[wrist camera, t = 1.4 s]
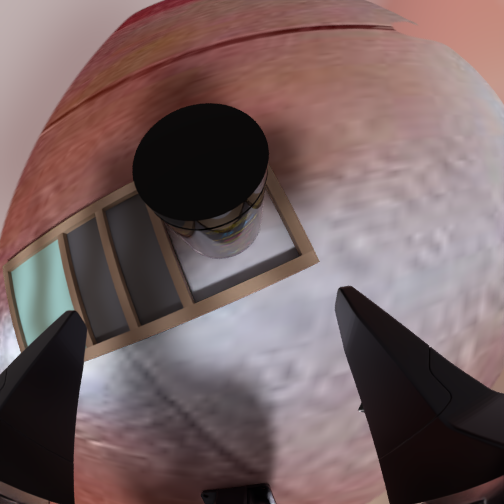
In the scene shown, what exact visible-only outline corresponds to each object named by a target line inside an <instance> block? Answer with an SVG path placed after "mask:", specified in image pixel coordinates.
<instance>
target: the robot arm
mask: <svg viewBox="0 0 504 504" xmlns="http://www.w3.org/2000/svg"><path fill="white" fill-rule="evenodd" d="M335 313H336V317H337V321H338V325H339V329H340V334H341V338H342V342H343V347H344V351H345V354H346V357H347V360H348V363H349V366H350V369H351V372H352V375H353V378H354V381H355V384H356V387H357V390H358V393H359V396H360V399H361V402H362V405H363V408H364V411H365V415H366V418H367V421H368V424H369V428H370V431H371V434H372V438H373V441H374V445H375V448H376V452H377V455H378V459H379V463H380V467H381V471H382V474H383V478H384V482H385V486H386V490H387V495H388V499H389V503H390V504H416V503H421V502H424V503H422V504H504V394H503V393H499V392H496V391H493V390H491V389H490V388H488V387H486V386H485V385H483V384H482V383H480V382H479V381H477V380H476V379H474V378H473V377H471V376H470V375H468V374H467V373H465V372H464V371H462V370H461V369H459V368H458V367H457V366H455V365H454V364H452V363H451V362H449V361H448V360H447V359H446V358H444V357H443V356H442V355H440V354H439V353H438V352H437V351H435V350H434V349H433V348H432V347H429V345H428V344H426V343H425V342H424V341H423V340H421V339H420V338H419V337H418V336H416V335H415V334H414V333H412V332H411V331H410V330H409V329H407V328H406V327H405V326H404V325H402V324H401V323H400V322H398V321H397V320H396V319H394V318H393V317H392V316H391V315H389V314H388V313H387V312H385V311H384V310H383V309H381V308H380V307H379V306H377V305H376V304H375V303H374V302H372V301H371V300H370V299H368V298H367V297H366V296H364V295H363V294H362V293H360V292H359V291H358V290H356V289H355V288H353V287H352V286H345V287H340V288H339V289H338V291H337V297H336V303H335ZM86 338H87V326H86V324H85V323H84V321H83V320H82V318H81V317H80V315H79V313H78V312H77V311H75V310H68V311H65V312H64V313H63V314H62V315H61V316H60V317H59V318H58V319H56V320H55V321H54V322H53V323H52V324H51V325H50V326H49V327H48V328H47V329H46V330H45V331H43V332H42V333H41V334H40V335H39V336H38V337H37V338H36V339H35V340H34V341H33V342H32V343H31V344H30V345H29V346H28V347H27V348H26V349H25V350H24V351H23V352H22V353H21V354H20V355H19V356H18V357H17V358H16V359H15V360H14V361H13V362H12V363H11V364H10V365H9V366H8V368H6V369H5V370H4V371H3V372H2V373H1V374H0V504H50V501H51V502H55V503H58V504H75V501H74V463H73V462H74V439H75V425H76V415H77V406H78V398H79V391H80V385H81V378H82V372H83V365H84V355H85V346H86ZM263 487H265V489H263ZM205 494H207V495H205ZM201 497H202V499H203V501H204V503H205V504H276V503H275V500H274V497H273V495H272V492H271V489H270V487H269V485H268V484H266V483H262V484H257V485H250V486H244V487H236V488H228V489H218V490H205V491H202V492H201Z"/></svg>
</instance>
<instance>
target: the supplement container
mask: <svg viewBox="0 0 504 504" xmlns="http://www.w3.org/2000/svg"><path fill="white" fill-rule="evenodd" d="M268 161H269V149H268V143H267V140H266V137H265V135H264V133H263V131H262V129H261V128H260V126H259V125H258V124H257V123H256V122H255V121H254V120H253V119H252V118H251V117H250V116H249V115H247V114H246V113H244V112H242V111H240V110H238V109H236V108H233V107H231V106H227V105H222V104H213V103H205V104H196V105H191V106H187V107H184V108H181V109H179V110H176V111H174V112H172V113H170V114H168V115H167V116H165V117H164V118H162V119H161V120H159V121H158V122H157V123H156V124H155V125H154V126H153V127H152V128H151V129H150V130H149V131H148V132H147V133H146V134H145V136H144V137H143V139H142V140H141V142H140V144H139V146H138V148H137V150H136V153H135V156H134V161H133V180H134V184H135V187H136V190H137V192H138V194H139V196H140V197H141V199H142V200H143V201H144V202H145V203H146V204H147V206H148V207H149V208H150V209H151V210H152V211H153V212H154V213H155V214H156V215H157V216H158V217H159V218H160V219H161V220H162V221H164V222H165V223H166V224H168V225H169V226H170V227H171V228H172V229H173V230H174V231H175V232H176V233H177V234H178V235H179V236H180V237H181V238H182V239H183V240H184V241H185V242H186V243H187V244H188V245H189V246H190V247H191V248H192V249H193V250H195V251H196V252H198V253H199V254H201V255H203V256H206V257H210V258H217V259H221V258H229V257H232V256H235V255H237V254H239V253H241V252H243V251H244V250H246V249H247V248H248V247H249V246H250V245H251V244H252V243H253V242H254V240H255V239H256V237H257V235H258V233H259V231H260V227H261V222H262V213H263V203H264V193H265V185H266V182H267V176H268Z"/></svg>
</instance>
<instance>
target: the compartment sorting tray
mask: <svg viewBox="0 0 504 504" xmlns="http://www.w3.org/2000/svg"><path fill="white" fill-rule="evenodd" d="M265 188H266V190H267V192H268V193H269V195H270V197H271V199H272V201H273V203H274V205H275V207H276V209H277V211H278V213H279V215H280V217H281V219H282V221H283V223H284V225H285V227H286V229H287V231H288V233H289V235H290V237H291V239H292V241H293V243H294V245H295V247H296V249H297V251H298V253H299V256H300V257H298V258H295V259H293V260H291V261H289V262H287V263H285V264H282V265H280V266H278V267H276V268H274V269H271V270H269V271H267V272H265V273H263V274H260V275H258V276H256V277H254V278H252V279H249V280H247V281H245V282H243V283H240V284H238V285H236V286H234V287H231V288H229V289H227V290H225V291H222V292H220V293H218V294H216V295H213V296H211V297H209V298H206V299H204V300H202V301H199V302H197V303H195V301H194V299H193V296H192V294H191V292H190V289H189V287H188V284H187V282H186V279H185V277H184V274H183V272H182V269H181V267H180V264H179V262H178V259H177V256H176V254H175V251H174V249H173V246H172V243H171V241H170V238H169V235H168V232H167V230H166V227H165V224H164V221H162V220H161V219H160V218H159V217H158V216H157V215H156V214H155V213H154V212H153V211H152V210H151V209H150V208H149V207H148V206H147V204H146V203H145V202H144V201H143V200H142V199H141V197H140V196H139V194H138V192H137V190H136V187H135V184H134V181H133V182H131V183H129V184H127V185H125V186H123V187H122V188H120V189H118V190H116V191H114V192H112V193H111V194H109V195H107V196H105V197H104V198H102V199H100V200H98V201H97V202H95V203H93V204H92V205H90V206H88V207H87V208H85V209H83V210H82V211H80V212H78V213H77V214H75V215H74V216H72V217H70V218H69V219H67V220H66V221H64V222H63V223H61V224H60V225H58V226H57V227H55V228H54V229H52V230H51V231H49V232H48V233H46V234H45V235H43V236H42V237H41V238H39V239H38V240H36V241H35V242H34V243H32V244H31V245H29V246H28V247H27V248H25V249H24V250H23V251H21V252H20V253H19V254H18V255H16V256H15V257H14V258H12V259H11V260H10V261H9V262H7V263H6V264H5V265H4V266H3V275H4V282H5V288H6V294H7V299H8V304H9V309H10V314H11V318H12V322H13V326H14V330H15V334H16V338H17V341H18V345H19V348H20V351H21V353H22V352H23V351H24V350H25V349H26V348H27V347H28V346H29V345H30V344H31V343H32V342H33V341H34V340H35V339H36V338H37V337H38V336H39V335H40V334H41V333H42V332H43V331H45V330H46V329H47V328H48V327H49V326H50V325H51V324H52V323H53V322H54V321H55V320H56V319H58V318H59V317H60V316H61V315H62V314H63V313H64V312H65V311H68V310H75V311H77V312H78V313H79V315H80V317H81V318H82V320H83V321H84V323H85V324H86V326H87V338H86V346H85V355H84V362H85V361H88V360H90V359H93V358H96V357H98V356H101V355H104V354H107V353H109V352H112V351H115V350H117V349H120V348H122V347H125V346H128V345H130V344H133V343H135V342H138V341H141V340H143V339H146V338H148V337H151V336H153V335H156V334H158V333H161V332H163V331H166V330H168V329H171V328H173V327H175V326H178V325H180V324H183V323H185V322H187V321H190V320H192V319H195V318H197V317H199V316H202V315H204V314H206V313H209V312H211V311H213V310H216V309H218V308H220V307H223V306H225V305H227V304H230V303H232V302H234V301H236V300H239V299H241V298H243V297H245V296H248V295H250V294H252V293H254V292H257V291H259V290H261V289H263V288H265V287H268V286H270V285H272V284H274V283H276V282H278V281H281V280H283V279H285V278H287V277H289V276H291V275H293V274H296V273H298V272H300V271H302V270H304V269H306V268H308V267H310V266H312V265H314V264H317V263H318V262H320V261H319V259H318V257H317V255H316V253H315V251H314V249H313V247H312V245H311V243H310V241H309V239H308V237H307V235H306V233H305V231H304V229H303V227H302V225H301V223H300V221H299V219H298V217H297V215H296V213H295V211H294V209H293V208H292V206H291V204H290V202H289V200H288V198H287V196H286V194H285V192H284V190H283V189H282V187H281V185H280V183H279V181H278V179H277V178H276V176H275V174H274V172H273V170H272V168H271V167H270V165H269V163H268V176H267V182H266V185H265Z"/></svg>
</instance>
